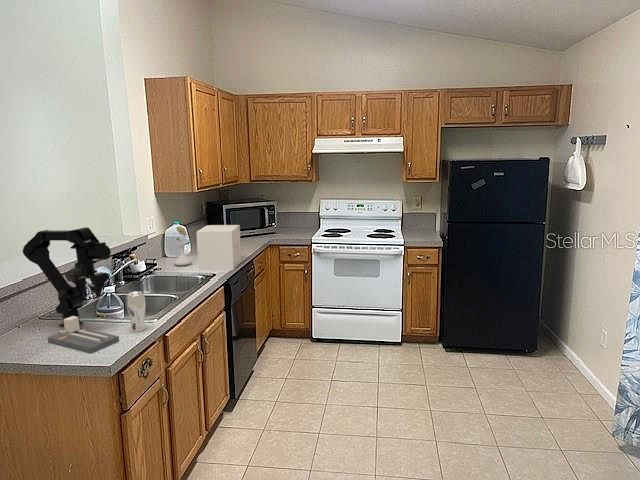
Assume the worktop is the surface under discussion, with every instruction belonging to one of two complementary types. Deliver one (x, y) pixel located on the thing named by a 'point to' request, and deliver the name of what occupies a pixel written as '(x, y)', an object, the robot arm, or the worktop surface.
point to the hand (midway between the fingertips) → (90, 296)
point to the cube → (219, 247)
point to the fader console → (84, 340)
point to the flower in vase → (182, 250)
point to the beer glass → (136, 310)
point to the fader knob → (71, 324)
